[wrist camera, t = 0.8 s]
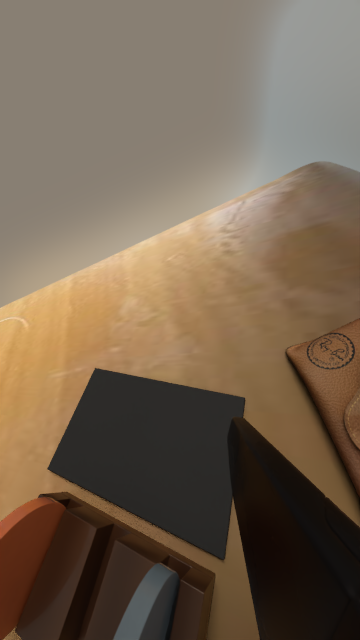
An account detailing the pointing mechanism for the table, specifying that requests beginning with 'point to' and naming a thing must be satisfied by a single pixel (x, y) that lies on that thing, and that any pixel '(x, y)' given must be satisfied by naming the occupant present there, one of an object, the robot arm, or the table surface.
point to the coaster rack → (106, 579)
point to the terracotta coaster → (24, 554)
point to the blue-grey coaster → (151, 606)
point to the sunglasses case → (335, 388)
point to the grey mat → (155, 453)
